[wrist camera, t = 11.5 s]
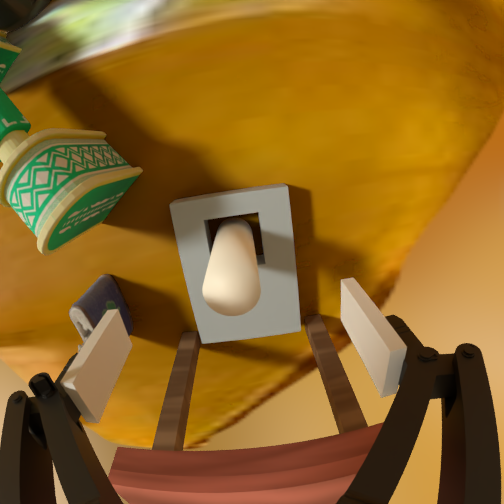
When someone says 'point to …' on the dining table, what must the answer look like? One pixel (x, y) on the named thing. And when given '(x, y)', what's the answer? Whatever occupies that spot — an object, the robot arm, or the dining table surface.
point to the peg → (232, 270)
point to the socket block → (269, 264)
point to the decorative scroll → (56, 173)
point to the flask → (99, 307)
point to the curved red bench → (247, 460)
